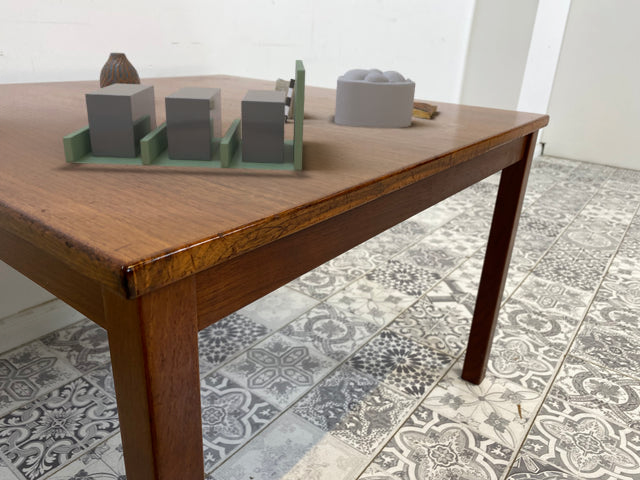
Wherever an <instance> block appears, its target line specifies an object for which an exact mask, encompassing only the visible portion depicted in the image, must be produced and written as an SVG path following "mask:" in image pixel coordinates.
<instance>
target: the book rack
mask: <svg viewBox="0 0 640 480" xmlns="http://www.w3.org/2000/svg"><path fill="white" fill-rule="evenodd" d="M294 71H295V72H294V76H295V77H294V80H295V100H294V119H293V133H292V134H293V135H292V137H293V138H292V139H293V140H292V139H284V160H283V163H258V162H242V126H241V118H234V119H233V121H232V123H231V125H230V126H229V128H228V130H227V131H226V133H225V135H224V137H222V142H221V143H220V146H219V147H218V149H217V151H216V152H215V154H214V156H213V158H212V159H211V161H203V160H174V159H169V156H168V140H167V124H166V120H164V122H162V123H161V124H160V125H158V126H157V128H156V129H154V130H153V131H152V132H151V133H149V134H148V135H147V136H145V137H144V138H143V139H142V140H140V145H141V154H140V155H138V156H137V157H136V158H117V157H93V156H92V148H91V139H90V131H89V124H87V125H85V126H83V127H81V128H79V129H77V130H75V131H73V132H71V133H69V134H67V135H65V136H62V143H63V151H64V157H65V162H66V163H70V164H73V163H74V164H97V165H100V164H101V165H127V166H129V165H130V166H154V167H155V166H158V167H184V168H185V167H186V168H187V167H188V168H218V169H243V170H244V169H247V170H248V169H249V170H273V171H274V170H275V171H300V172H301V171H302V170H303V148H304V147H303V145H304V142H303V141H304V122H305V121H304V120H305V119H304V117H305V101H304V95H306V93H305V91H306V90H305V89H306V69H305V65H304V62H303V60H302V59H296V60H295V70H294Z"/></svg>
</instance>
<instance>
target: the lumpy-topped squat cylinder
mask: <svg viewBox="0 0 640 480" xmlns="http://www.w3.org/2000/svg"><path fill="white" fill-rule="evenodd" d="M335 91H336V92H335V106H334V107H335V108H334V124H337V125H341V126H347V127H359V128H361V127H362V128H363V127H364V128H384V129H385V128H388V129H393V128H394V129H397V128H405V127H406V128H407V127H411V125H412V118H413V115H412V111H413V102H415V94H416V93H415V92H416V82H415V81H414V80H412V79H410V78H409V77H407V78H405V76H403V75H402V73H400V72H398V71H396V70H385V71H382V70H381V69H378V68H370V69H364V68H354V69H349V70H348V71H346V72H345V73H344V74H343V75H339V76H338V78H337V79H336V90H335Z"/></svg>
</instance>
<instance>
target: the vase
mask: <svg viewBox="0 0 640 480" xmlns="http://www.w3.org/2000/svg"><path fill="white" fill-rule="evenodd" d="M116 83H117V84H139V85H142V84H141V79H140V76H139V73H138V71H137V69H136V68H135V66H134V65H133V64H132V62H130V61H129V59H128V57H127V55H126V53H124V52H110V53H109V55H108V58H107V60H106V61H105V63H104V65H103V66H102V68H101V70H100V74H99V87H100V89H101V88H104V87H107V86H110V85H113V84H116Z"/></svg>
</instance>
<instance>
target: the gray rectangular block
mask: <svg viewBox="0 0 640 480" xmlns="http://www.w3.org/2000/svg"><path fill="white" fill-rule="evenodd" d="M84 97H85V104H86V105H85V107H86V114H87V121H88V122H87V123H88V125H89V131H90V139H91V148H92V156H93V157H117V158H136V157H137V156H138V155H140V154H141V145H140V140H142V139H143V138H144V137H145V136H147V135H148V134H149V133H151V132H152V131H153V130H154V129H156V128H157V127H158V126H157V112H156V98H155V85H154V84H141V85H139V84H117V83H116V84H113V85H110V86H107V87H104V88H101V87H100V88H98V89H95V90H93V91H90V92H86V93H85V94H84Z"/></svg>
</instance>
